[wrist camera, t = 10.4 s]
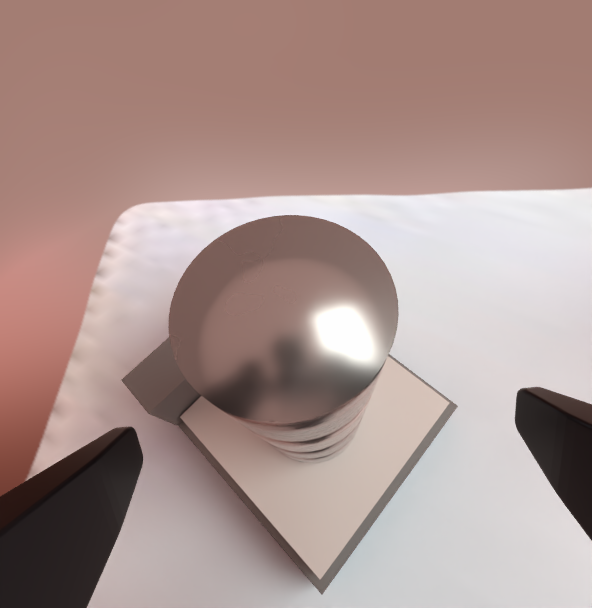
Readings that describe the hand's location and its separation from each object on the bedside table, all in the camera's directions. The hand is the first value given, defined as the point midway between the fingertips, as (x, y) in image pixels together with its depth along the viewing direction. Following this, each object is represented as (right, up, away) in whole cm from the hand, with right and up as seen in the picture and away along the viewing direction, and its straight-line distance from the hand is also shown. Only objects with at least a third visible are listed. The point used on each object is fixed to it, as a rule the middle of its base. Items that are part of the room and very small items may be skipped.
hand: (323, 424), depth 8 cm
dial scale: (0, -4, +13) cm, 13 cm away
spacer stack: (0, -3, +10) cm, 10 cm away
